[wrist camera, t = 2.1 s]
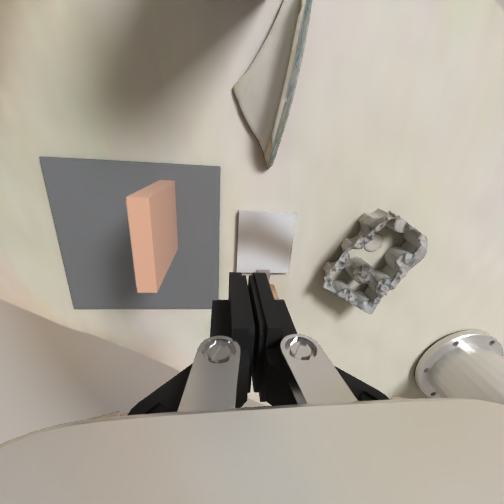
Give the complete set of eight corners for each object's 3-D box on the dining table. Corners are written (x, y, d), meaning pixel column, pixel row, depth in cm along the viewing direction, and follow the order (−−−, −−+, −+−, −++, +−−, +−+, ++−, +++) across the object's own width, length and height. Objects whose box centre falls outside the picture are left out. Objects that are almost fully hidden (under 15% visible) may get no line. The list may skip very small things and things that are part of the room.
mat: (220, 166, 25) (220, 166, 25) (218, 306, 31) (218, 308, 31) (42, 156, 23) (39, 156, 23) (76, 306, 29) (74, 308, 29)
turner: (283, 306, 32) (295, 339, 26) (234, 306, 31) (236, 340, 26) (295, 212, 28) (312, 228, 22) (238, 209, 27) (242, 226, 21)
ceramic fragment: (272, 167, 26) (279, 170, 22) (221, 156, 25) (220, 156, 22) (312, -6, 21) (330, -38, 18) (251, -28, 21) (257, -66, 17)
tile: (174, 180, 25) (148, 197, 17) (178, 248, 28) (157, 292, 19) (158, 179, 25) (123, 196, 16) (163, 248, 27) (135, 292, 19)
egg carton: (371, 198, 28) (394, 206, 24) (416, 234, 30) (443, 246, 26) (310, 273, 31) (322, 290, 27) (355, 301, 33) (372, 321, 29)
